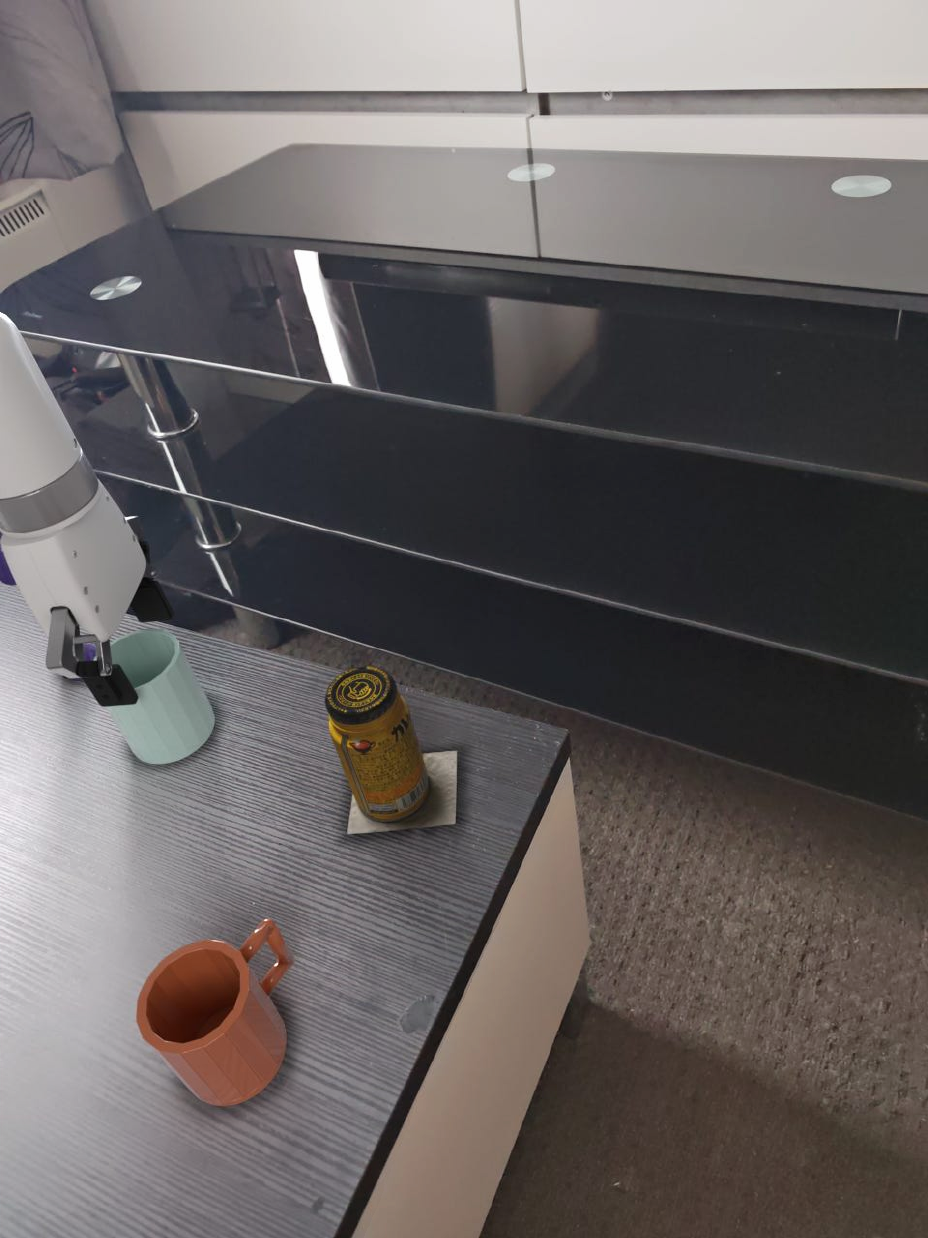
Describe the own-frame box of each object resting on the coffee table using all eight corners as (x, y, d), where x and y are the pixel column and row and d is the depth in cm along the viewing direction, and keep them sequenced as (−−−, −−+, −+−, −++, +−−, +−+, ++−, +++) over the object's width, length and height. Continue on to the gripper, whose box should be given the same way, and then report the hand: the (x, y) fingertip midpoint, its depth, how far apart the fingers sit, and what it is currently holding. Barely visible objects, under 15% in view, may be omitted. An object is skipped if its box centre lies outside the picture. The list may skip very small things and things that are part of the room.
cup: (119, 767, 80) (74, 697, 74) (147, 701, 85) (107, 631, 79) (201, 762, 78) (163, 691, 73) (224, 696, 84) (190, 625, 78)
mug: (237, 1128, 56) (191, 1076, 51) (163, 1070, 59) (112, 1015, 54) (336, 991, 61) (305, 931, 56) (264, 945, 65) (227, 884, 59)
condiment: (356, 761, 76) (319, 659, 68) (457, 752, 75) (431, 647, 67) (347, 836, 71) (305, 735, 63) (456, 826, 70) (427, 723, 62)
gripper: (41, 430, 72) (131, 594, 83) (-65, 574, 59) (59, 743, 70) (130, 419, 70) (209, 586, 82) (41, 562, 58) (150, 737, 69)
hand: (139, 658), depth 76 cm, fingers open, 9 cm apart
